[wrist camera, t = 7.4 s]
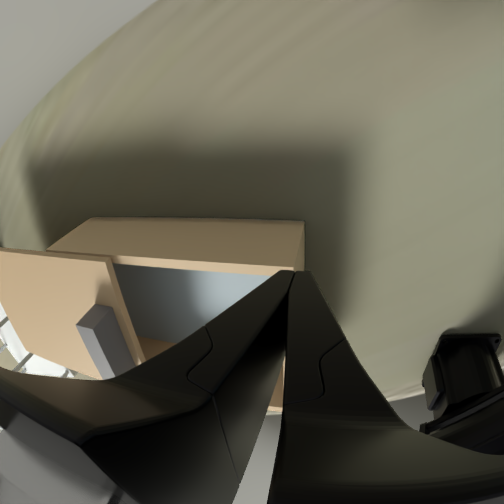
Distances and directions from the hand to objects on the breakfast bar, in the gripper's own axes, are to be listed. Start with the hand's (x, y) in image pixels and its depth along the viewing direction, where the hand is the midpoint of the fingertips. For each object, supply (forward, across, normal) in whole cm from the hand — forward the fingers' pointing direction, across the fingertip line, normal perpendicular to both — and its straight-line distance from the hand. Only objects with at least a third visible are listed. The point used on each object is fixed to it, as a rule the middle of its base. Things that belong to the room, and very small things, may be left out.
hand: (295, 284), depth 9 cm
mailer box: (+12, +10, +10) cm, 19 cm away
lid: (+6, +21, +10) cm, 24 cm away
